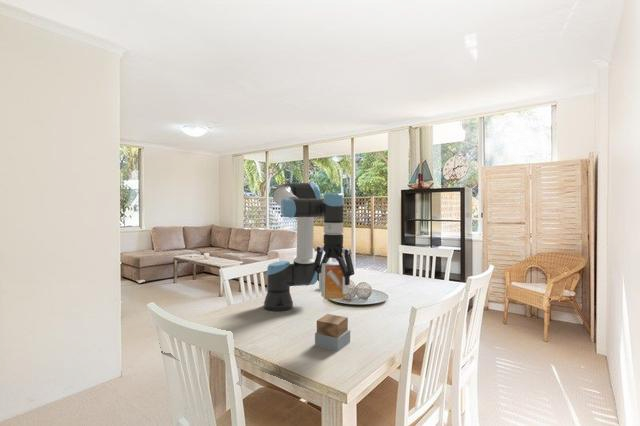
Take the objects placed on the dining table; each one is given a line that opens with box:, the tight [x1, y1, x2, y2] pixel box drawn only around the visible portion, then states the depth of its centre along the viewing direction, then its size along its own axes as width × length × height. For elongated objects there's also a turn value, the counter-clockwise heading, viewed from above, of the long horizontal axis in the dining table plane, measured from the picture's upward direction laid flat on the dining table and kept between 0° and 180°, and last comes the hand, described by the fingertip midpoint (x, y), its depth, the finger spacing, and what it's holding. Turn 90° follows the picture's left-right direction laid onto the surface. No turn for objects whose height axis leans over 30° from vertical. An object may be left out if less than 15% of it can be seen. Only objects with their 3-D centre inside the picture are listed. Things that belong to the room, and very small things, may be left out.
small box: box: [320, 261, 346, 300], centre depth 134 cm, size 8×6×13 cm
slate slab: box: [314, 329, 351, 352], centre depth 135 cm, size 10×10×5 cm
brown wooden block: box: [316, 313, 349, 338], centre depth 135 cm, size 9×9×5 cm
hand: (333, 291), depth 134 cm, fingers closed on small box, 10 cm apart
